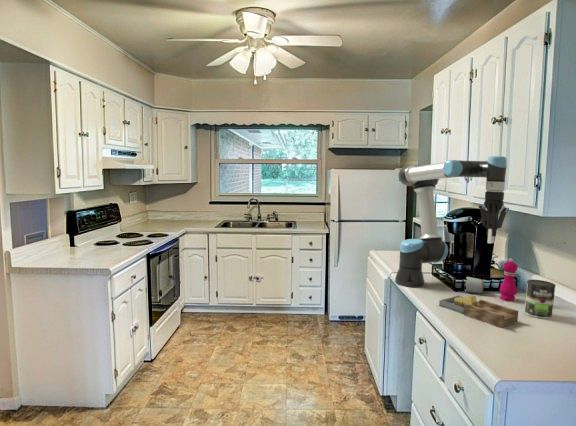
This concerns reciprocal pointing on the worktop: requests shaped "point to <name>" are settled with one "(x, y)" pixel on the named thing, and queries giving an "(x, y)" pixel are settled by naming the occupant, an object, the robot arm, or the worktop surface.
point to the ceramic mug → (474, 285)
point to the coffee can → (539, 299)
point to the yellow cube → (469, 300)
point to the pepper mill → (509, 281)
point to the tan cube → (458, 301)
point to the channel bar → (492, 313)
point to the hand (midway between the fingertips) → (490, 242)
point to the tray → (452, 304)
